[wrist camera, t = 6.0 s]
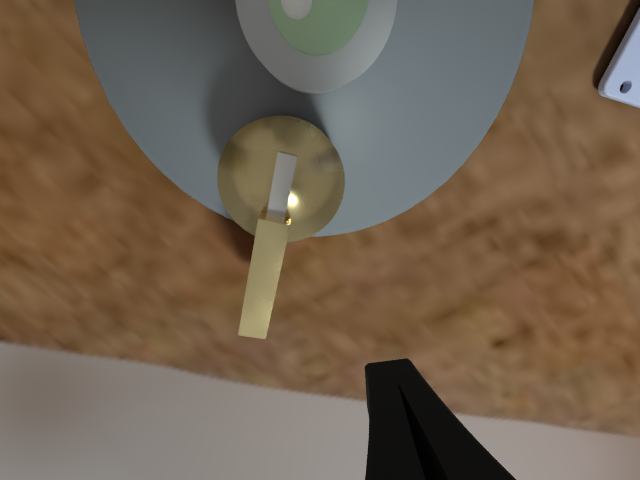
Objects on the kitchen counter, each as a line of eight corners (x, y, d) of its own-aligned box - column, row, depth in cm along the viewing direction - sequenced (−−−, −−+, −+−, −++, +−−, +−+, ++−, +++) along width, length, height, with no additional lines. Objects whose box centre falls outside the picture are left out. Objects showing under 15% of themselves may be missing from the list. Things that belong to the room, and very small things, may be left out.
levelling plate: (602, -171, 11) (907, -451, 5) (425, 254, 17) (481, 322, 12) (75, -417, 8) (-349, -1398, 3) (99, 188, 15) (-17, 236, 9)
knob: (237, 101, 12) (219, 99, 10) (351, 130, 13) (364, 137, 10) (213, 290, 16) (195, 328, 13) (304, 305, 16) (305, 345, 14)
